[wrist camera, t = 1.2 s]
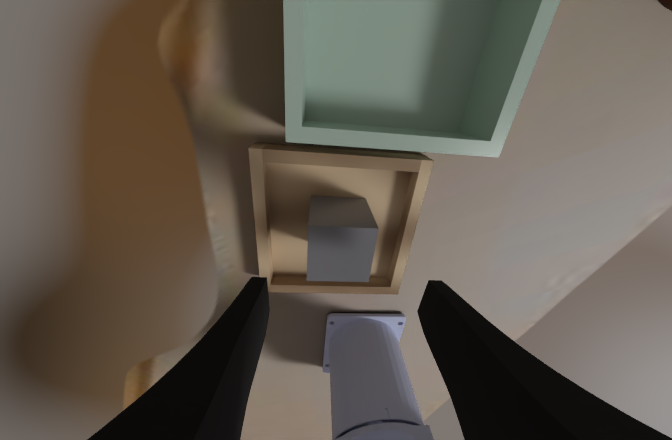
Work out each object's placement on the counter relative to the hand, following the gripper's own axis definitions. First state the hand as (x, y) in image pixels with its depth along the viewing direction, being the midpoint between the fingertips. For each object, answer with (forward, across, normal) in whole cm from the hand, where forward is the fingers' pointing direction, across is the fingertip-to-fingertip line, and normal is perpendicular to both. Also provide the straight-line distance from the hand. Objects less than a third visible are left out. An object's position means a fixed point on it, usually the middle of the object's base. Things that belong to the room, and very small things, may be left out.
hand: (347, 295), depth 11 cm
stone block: (+8, 0, +1) cm, 8 cm away
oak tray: (+9, 0, +1) cm, 9 cm away
